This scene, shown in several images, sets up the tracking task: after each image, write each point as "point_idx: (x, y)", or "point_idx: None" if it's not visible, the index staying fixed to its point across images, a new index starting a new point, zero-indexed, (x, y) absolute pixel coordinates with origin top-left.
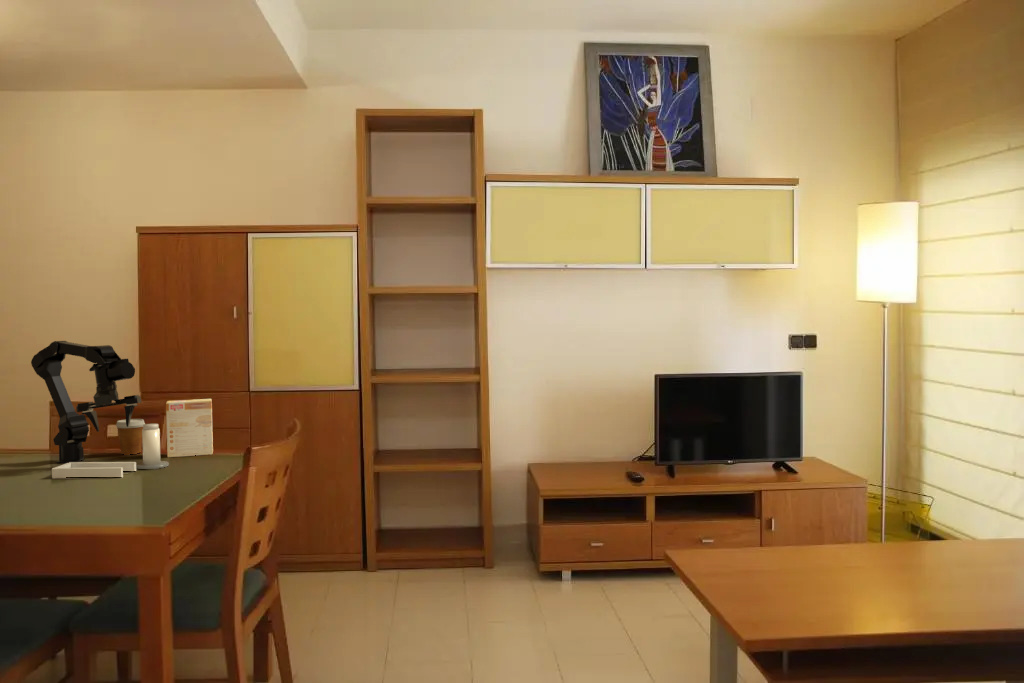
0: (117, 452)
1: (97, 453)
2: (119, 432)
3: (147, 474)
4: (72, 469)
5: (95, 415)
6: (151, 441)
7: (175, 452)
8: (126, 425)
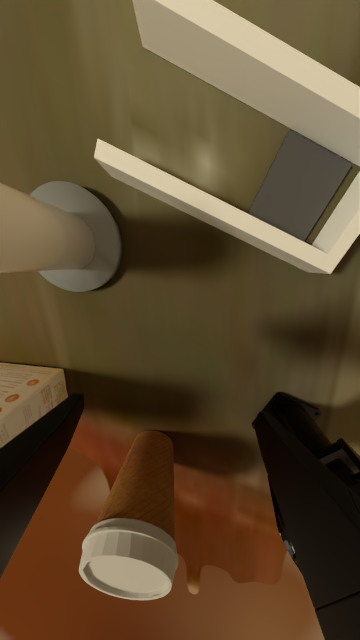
0: (182, 469)
1: (221, 476)
2: (169, 512)
3: (61, 76)
4: (348, 89)
5: (351, 626)
6: None
7: (34, 372)
8: (78, 401)
